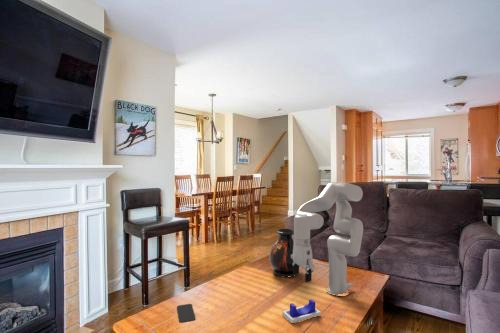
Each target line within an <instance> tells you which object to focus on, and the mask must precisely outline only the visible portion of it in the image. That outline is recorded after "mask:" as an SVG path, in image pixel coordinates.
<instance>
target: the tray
mask: <svg viewBox="0 0 500 333" xmlns="http://www.w3.org/2000/svg"><path fill="white" fill-rule="evenodd" d="M304 306H305V305H302V306H298V307H297V306H296V309H297V311H299V309H302V308H303V307H304ZM320 314H321V315H322V313H321V311H320V310H319V309H317V308H316V307H315V312H313V313H310V314H306V315H302V316H299V317H295V318H292V317H291V316H290V308H289V309H286V310H282V315H281V316H282V317H283V318H284V319H286V320H287V319H288V320H289V321H290V322H291V323H295V324H297V323H296V322H298V323H300V322H299V321H302V320H305V319H308V318H311V317H314V316H318V315H320ZM288 320H287V321H288ZM289 321H288V322H289ZM305 321H306V320H305ZM290 322H289V323H290ZM302 322H303V321H302ZM291 323H290V324H291Z"/></svg>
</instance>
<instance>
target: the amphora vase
mask: <svg viewBox="0 0 500 333" xmlns="http://www.w3.org/2000/svg"><path fill="white" fill-rule="evenodd" d="M275 233H276V234H278V239H277V240H276V241H275V242H274V243H273V245H272V246H271V248H270V251H269V254H268V255H269V256H268V257H269V258H268V259H269V263H270V265H271V267H272V268H273V270H272V272H273V273H274V275H275V274H276V275H275V276H277V275H279V276H278V277H280V276H284V277H283V278H287V277H288V276H294V275H296V276H298V274H293V265H292V261H291V260H292V259H291V255H292V254H293V247H294V229H292V228H279V229H276V230H275ZM300 267H301V266H299V268H300ZM294 277H295V276H294ZM288 278H289V277H288Z"/></svg>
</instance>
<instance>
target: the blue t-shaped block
mask: <svg viewBox="0 0 500 333" xmlns="http://www.w3.org/2000/svg"><path fill="white" fill-rule="evenodd" d="M303 306H304V307H303V308H302V309H299V311H297V309H296V308H297V305H296V304H294V303H289V309H290V316H291V317H292V318H295V317H299V316H302V315H306V314H310V313H313V312H315V308H316V301H315V300H313V298H312V299H311V298H310V299H309V300H308V304H305V305H303Z"/></svg>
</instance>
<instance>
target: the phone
mask: <svg viewBox="0 0 500 333" xmlns="http://www.w3.org/2000/svg"><path fill="white" fill-rule="evenodd" d="M176 312H177V317H178V322H179V323H181V324H182V323H187V322H192V321H196V315H195V311H194V309H193V304H192V303H187V304H180V305H177V306H176Z"/></svg>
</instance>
